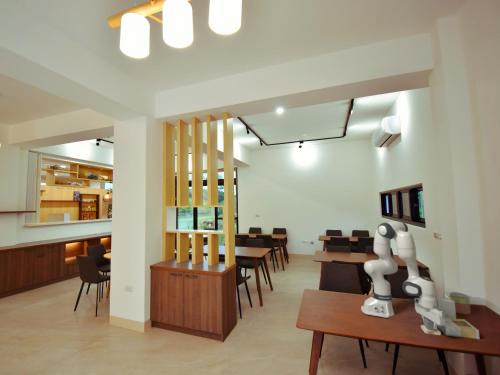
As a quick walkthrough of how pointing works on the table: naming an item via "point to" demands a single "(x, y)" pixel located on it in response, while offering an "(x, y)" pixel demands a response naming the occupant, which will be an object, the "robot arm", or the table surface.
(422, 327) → the tab
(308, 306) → the table surface
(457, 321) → the grey yellow rectangular frame
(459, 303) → the canned food
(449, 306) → the supplement box
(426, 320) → the nut block
